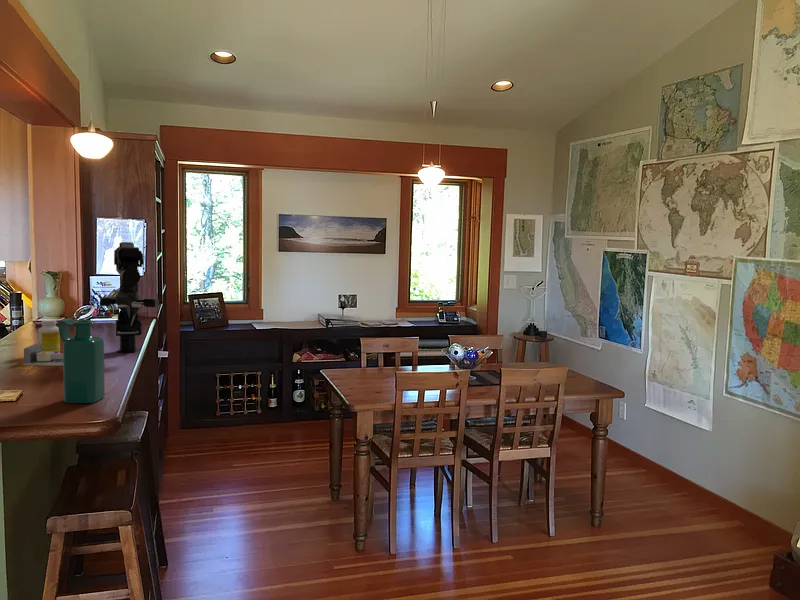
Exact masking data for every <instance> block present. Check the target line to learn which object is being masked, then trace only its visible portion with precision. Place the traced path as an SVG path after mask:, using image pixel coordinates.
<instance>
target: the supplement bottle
mask: <svg viewBox="0 0 800 600" xmlns="http://www.w3.org/2000/svg"><path fill="white" fill-rule="evenodd" d="M40 322H41V325H42V326H41V327H39V328H38V344H42V351H55V353H61V337H60V334H59V327H58V326H57V319H41V321H40Z"/></svg>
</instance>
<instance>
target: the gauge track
mask: <svg viewBox="0 0 800 600" xmlns="http://www.w3.org/2000/svg"><path fill="white" fill-rule="evenodd" d="M40 352H42V344H39V343H35V344H32V345H29V346H27V347H25V348H24V347H23V363H22V364H23V365H22V366H44V367H45V366H49V367H50V366H52V367H53V366H55V367H56V366H58V367H60V366H62V367H63V359H53V360H51V361H37V353H40Z"/></svg>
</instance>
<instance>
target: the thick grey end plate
mask: <svg viewBox="0 0 800 600" xmlns="http://www.w3.org/2000/svg"><path fill="white" fill-rule="evenodd" d="M53 359H63V352H62V353H61V352H60V353H55V351H42V352H40V353H37V361H51V360H53Z"/></svg>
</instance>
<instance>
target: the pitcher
mask: <svg viewBox="0 0 800 600" xmlns="http://www.w3.org/2000/svg"><path fill="white" fill-rule="evenodd" d="M57 324H58V325H57V327H58V328H59V334H60V340H62V341H63V344H62V354H63V366H62V372H63V402H64V403H65V404H76V403H91V404H95V403H97V402H98V401H100V400H101V398H102V399H104V398H105V394H106V393H105V391H106V389H105V342H104V338H102V337H99V336H96V335H95V336H94V335H92V325H93V324H95V321H94V320H92V319H91V320H89V319H80V320H79V319H78V320H74V319H73V318H71V317H69V318H65V319H64V318H63V319H61V320H58V321H57ZM70 327H75V332H76V333H75V335H74V336H73V335H72V333H71V331H70ZM96 401H97V402H96ZM94 402H95V403H94Z"/></svg>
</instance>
